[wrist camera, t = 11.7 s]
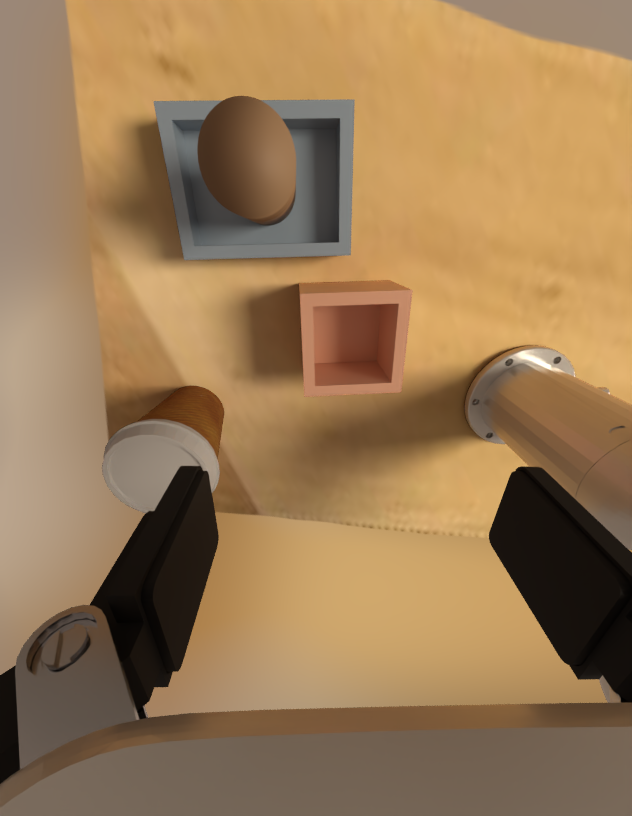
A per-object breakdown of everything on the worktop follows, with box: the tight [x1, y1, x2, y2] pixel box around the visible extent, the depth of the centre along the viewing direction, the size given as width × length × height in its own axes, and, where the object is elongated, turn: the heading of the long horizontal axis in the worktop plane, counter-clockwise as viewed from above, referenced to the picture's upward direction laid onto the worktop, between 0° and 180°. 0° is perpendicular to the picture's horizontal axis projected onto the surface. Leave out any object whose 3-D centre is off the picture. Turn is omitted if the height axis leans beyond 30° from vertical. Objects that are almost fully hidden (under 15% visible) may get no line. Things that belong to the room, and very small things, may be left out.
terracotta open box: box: [299, 280, 412, 397], centre depth 31 cm, size 9×9×7 cm
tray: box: [154, 100, 354, 260], centre depth 26 cm, size 14×10×4 cm
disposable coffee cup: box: [102, 386, 224, 513], centre depth 32 cm, size 10×10×12 cm
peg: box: [197, 96, 296, 226], centre depth 22 cm, size 5×5×12 cm
